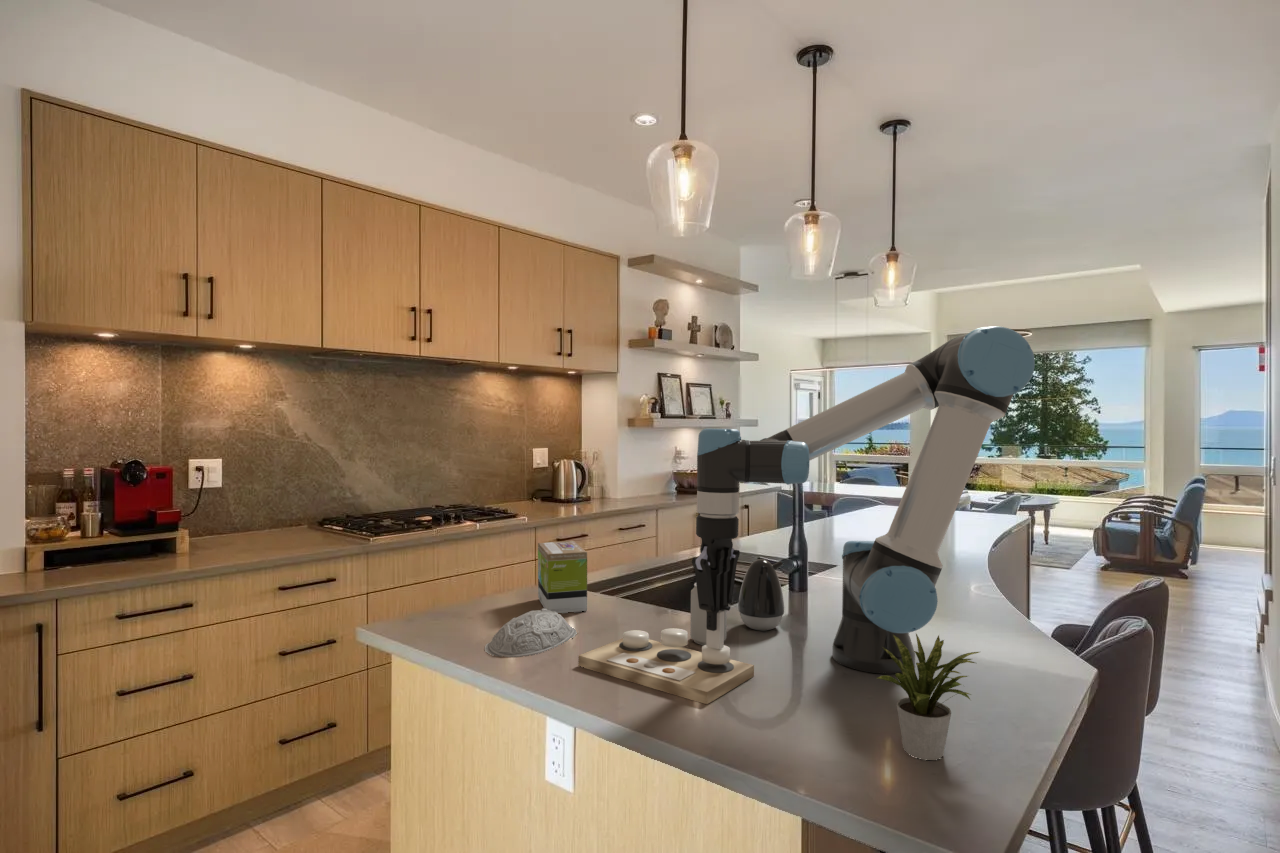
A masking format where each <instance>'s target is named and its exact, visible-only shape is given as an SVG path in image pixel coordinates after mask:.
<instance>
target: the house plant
mask: <svg viewBox="0 0 1280 853" xmlns="http://www.w3.org/2000/svg"><path fill="white" fill-rule="evenodd" d="M893 636H894V635H893ZM915 637H916V642H917V648H918V649H917V650H914V651H913V652H915V656H916V657H917V659H918V661H919V662H915V666H916V668H917V673H916V670H915V667H914V664H913V661H912V658H911V655H910V653H909V650H908V649H907V648H906V646H905V645H904V644H903V643H902V642H901V640H900V639H899V638H898V637H896V636H894V638H895V640H896V643H897V645H898V648H899V651H900V653H901V657H902V661H903V664H902V663H901V662H900V660H898V659H897V658H896V657H895V656H894V655H893V654H892V653H891V652H890V651H888V650H887V649H885V648H883V649H884V650H885V651H886V652H887V653H888V654H889V655H890V656H891V658H892V659H893V660H894V662H895V663H896V664H897V665H898V666H899V668H900V669H901V671H902V673H894V676H895V677H896V678H895V677H893V676H890V675H888V674H886V675H885V674H884V675H880V676H878V677H877V679H879V680H883V681H888V682H890V683H893V684H896V685H898V686H899V687H900V688H902V689H903V690H904V691H905V692H906V694H907V696H908V697H904V698H901V699H899V700H898V701H897V702H896V709H897V716H898V723H899V728H900V729H899V730H900V734H901V743H902V748H904V749H903V751H904V750H905V751H906V752H907V753H908V754H910V755H912V756H914V757H917V758H921V759H927V760H936V759H939V758H941V757H942V756H943V757H944V753H945V748H946V742H947V737H948V732H949V726H950V721H951V717H952V711H951V708H950V707H949V706H947V705H946V704H944V702H945V703H946V701H948V700H949V699H951V698H953V697H954V695H952V696H950V697H949V698H947V699H946V700H945V701H943V702H940V701H939V700H940V699H941V697H942V696H943V694H945V693H955V694H956V695H958V694H959V695H961V696H963V697H966V698H967V699H969V700H971V698H970V697H969V695H970V696H972V694H971V693H969V692H965V691H963V690H961V689H956V688H955V687H959V686H963V687H965V686H964V684H962V683H960V682H958V680H961V678H966V677H969V675H962V673H961V672H959V671H956V670H954V669H955V668H956V667H957V666H959V665H961V664H966V663H969V664H970V663H971V664H976V661H972V660H973V658H966V657H968V656H971V655H975V654H979V653H980V651H972V652H968V653H963V654H961V655H959V656H957V657H955V658H953V659H952V660H950V661H949V662H948V663H944V664H940V665H939V663H940V660H941V658H942V647H943V645H944V644H945V643H944V641H945V639H942V640H941V639H940V633H939V634H938V636H937V637H936V638H935V642H934V645H933V647H932V649H931V651H930V653H929V655H928V657H927V659H926V655H925V650H924V648H923V646H922V643H921V639H920V638H919V636H918V634H917V633H915ZM940 669H941V670H940ZM939 670H940V672H939V673H938V674H937V675H936V676H935V673H936V671H937V672H938V671H939ZM950 673H956V674H960V675H959V676H955V677H950V676H949V674H950ZM917 674H918V676H917ZM934 676H935V677H934ZM946 679H950V680H948V681H945V680H946ZM905 751H904V752H905ZM906 752H905V753H906ZM907 753H906V754H907ZM908 754H907V755H908ZM910 755H909V756H910ZM912 756H911V757H912ZM914 757H913V758H914ZM917 758H916V759H917ZM941 759H942V758H941ZM936 761H937V760H936Z"/></svg>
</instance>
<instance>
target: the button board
mask: <svg viewBox="0 0 1280 853" xmlns="http://www.w3.org/2000/svg"><path fill="white" fill-rule="evenodd" d="M577 656H578V662H577V665H578V667H580V666H581V668H583V667H584V669H586V670H590V671H594V672H597V673H601V674H604V675H607V676H609V677H610V676H611V677H612V678H613V677H614V678H617V679H620V680H624V681H628V682H629V683H634V684H638V685H641V686H644V687H647V688H650V689H654V690H657V691H661V692H664V693H668V694H671V695H675V696H677V697H680V698H683V699H684V698H685V699H687V700H691V701H694V702H697V703H700V704H704V705H709V704H710V703H712V702H713V701H716V700H717V699H719V698H721V697H722V696H723V695H725V694H727V693H728V692H730V691H731V690H733V689H735V688H736V687H738V686H741V684H743V683H745V682H747V681H748V680H750V679H751V678H754V677H755V665H754V664H752V663H747V662H742V661H739V660H735V659H732V658H730V661H729V662H728V663H726V664H709V663H706V662H704V661H703V660H702V651H697V650H695V649H692V648H691V649H689V648H686V647H684V646H683V647H667V646H664V645H662V644H661V641H658V640H653V639H650V638H649V645H648V646H647V647H645V648H639V649H633V648H627V647H625V646H624V645H623V637H622V638H619V639H617V640H615V641H613V642H609V643H607V644H603V645H602V646H599V647H596V648H594V649H592V650H589V651H586V652H584V653H581V654H578V655H577Z"/></svg>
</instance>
